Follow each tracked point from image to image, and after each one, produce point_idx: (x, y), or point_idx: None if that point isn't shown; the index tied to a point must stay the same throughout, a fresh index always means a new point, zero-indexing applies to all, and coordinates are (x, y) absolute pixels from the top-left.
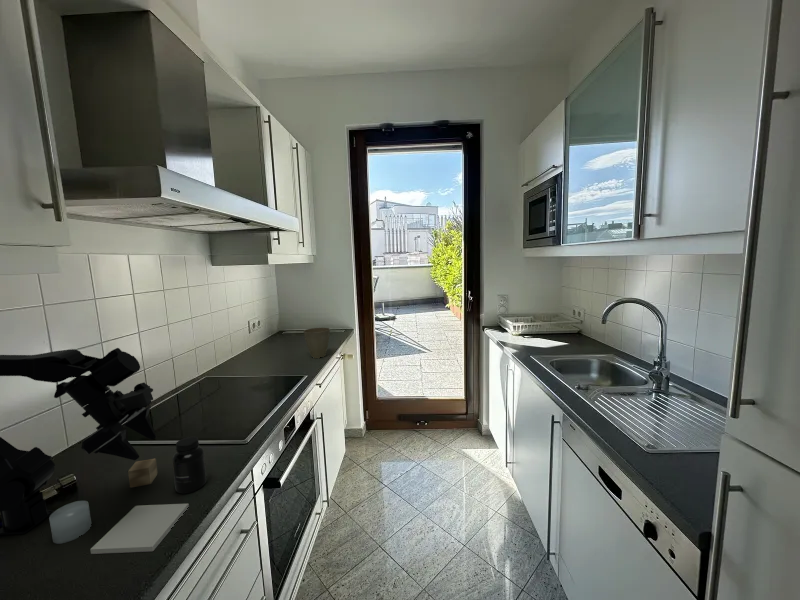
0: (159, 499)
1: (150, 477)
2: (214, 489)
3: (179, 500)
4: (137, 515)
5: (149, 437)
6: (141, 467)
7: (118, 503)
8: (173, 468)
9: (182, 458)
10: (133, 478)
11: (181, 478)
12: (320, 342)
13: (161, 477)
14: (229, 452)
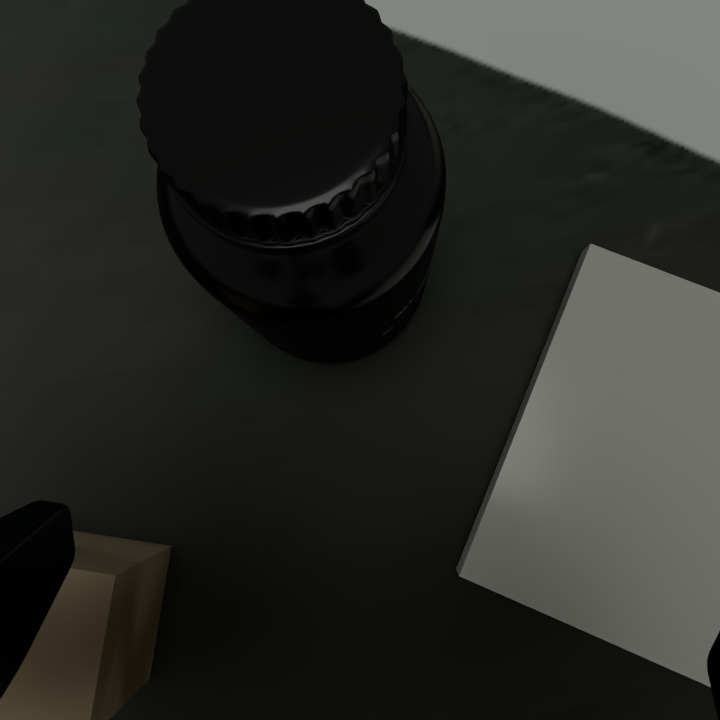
0: (401, 447)
1: (143, 553)
2: (448, 126)
3: (473, 321)
4: (581, 537)
5: (43, 606)
6: (75, 640)
7: (321, 706)
8: (360, 326)
9: (419, 197)
10: (126, 676)
11: (425, 278)
12: None
13: (118, 489)
14: (7, 72)
